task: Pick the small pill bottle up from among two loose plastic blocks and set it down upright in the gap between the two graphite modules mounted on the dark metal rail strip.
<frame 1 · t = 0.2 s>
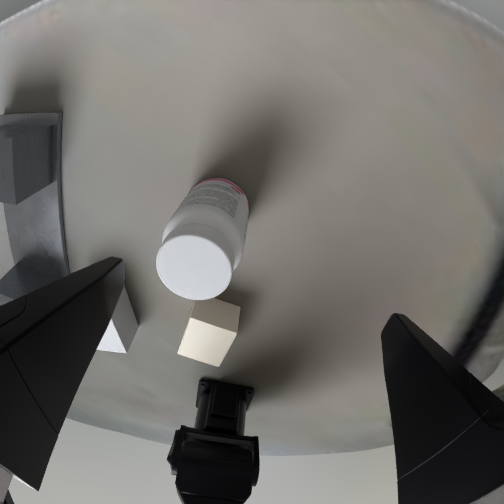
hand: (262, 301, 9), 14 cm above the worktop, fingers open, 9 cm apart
pill bottle: (217, 206, 22), on the worktop
beige terminal block: (211, 317, 28), on the worktop
rail: (34, 225, 24), on the worktop
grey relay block: (114, 302, 28), on the worktop
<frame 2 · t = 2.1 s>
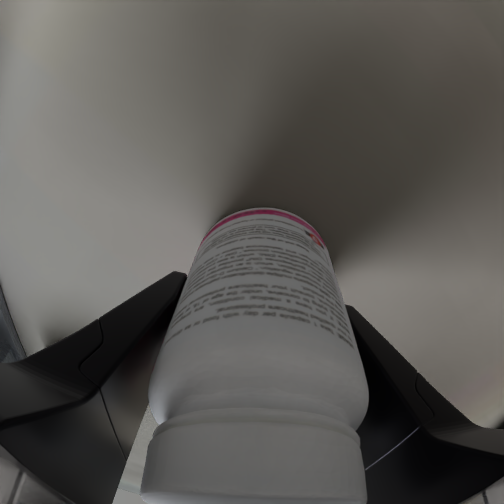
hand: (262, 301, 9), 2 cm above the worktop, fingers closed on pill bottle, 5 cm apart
pill bottle: (262, 263, 11), on the worktop, touching gripper
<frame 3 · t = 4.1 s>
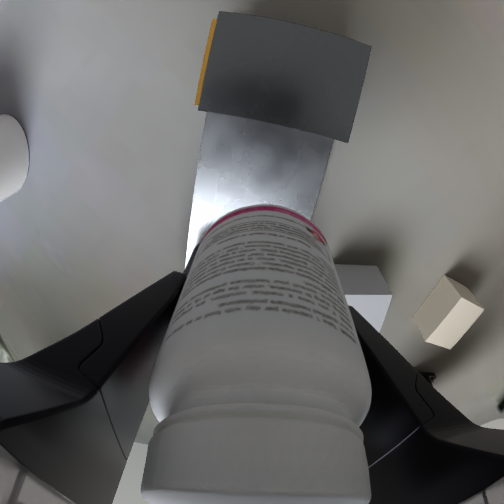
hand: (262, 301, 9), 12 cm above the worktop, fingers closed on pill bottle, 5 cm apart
pill bottle: (263, 260, 11), point 10 cm above the worktop, touching gripper
beige terminal block: (440, 301, 24), on the worktop
rail: (256, 190, 20), on the worktop
pill bottle 2: (4, 154, 19), on the worktop
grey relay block: (345, 295, 24), on the worktop
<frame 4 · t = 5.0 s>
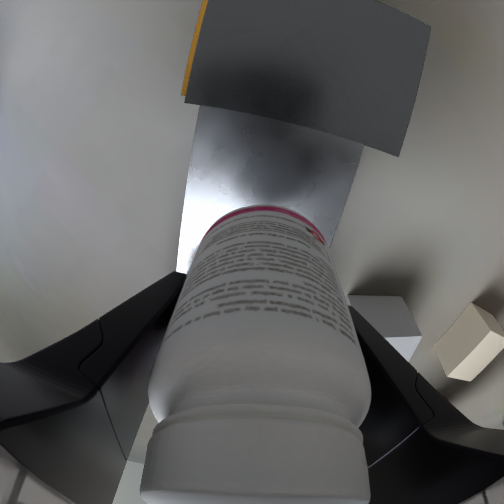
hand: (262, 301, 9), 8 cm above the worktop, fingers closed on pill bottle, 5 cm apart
pill bottle: (263, 260, 11), point 5 cm above the worktop, touching gripper
beige terminal block: (463, 329, 20), on the worktop
rail: (262, 207, 16), on the worktop
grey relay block: (363, 328, 20), on the worktop
when the fingers open (4 cm above the worktop, at t = 6.0 s): pill bottle drops 1 cm, resting on rail.
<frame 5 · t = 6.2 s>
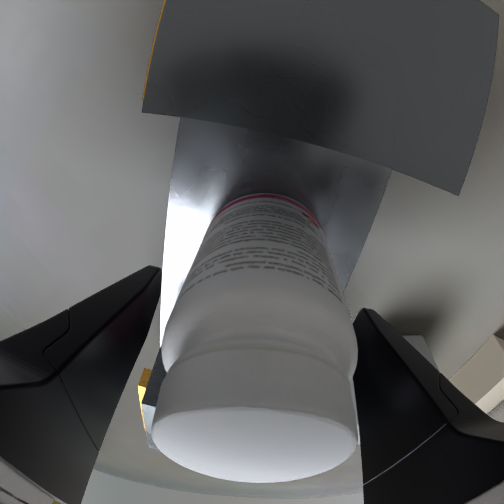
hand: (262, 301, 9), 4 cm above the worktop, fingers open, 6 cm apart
pill bottle: (264, 245, 12), resting on rail
beige terminal block: (481, 361, 17), on the worktop
rail: (263, 241, 13), on the worktop
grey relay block: (376, 367, 17), on the worktop
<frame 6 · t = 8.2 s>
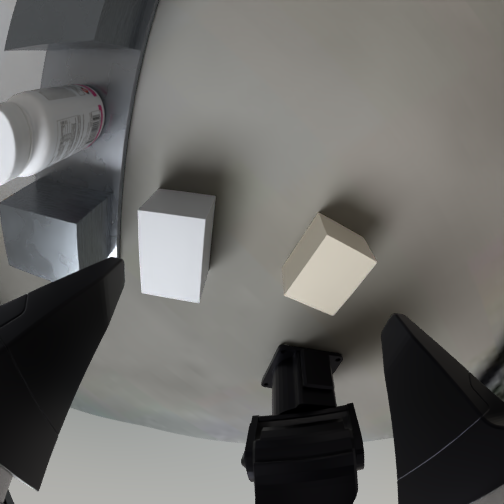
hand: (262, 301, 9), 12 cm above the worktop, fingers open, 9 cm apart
pill bottle: (79, 117, 17), resting on rail
beige terminal block: (322, 251, 22), on the worktop
rail: (81, 117, 17), on the worktop
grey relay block: (184, 230, 21), on the worktop
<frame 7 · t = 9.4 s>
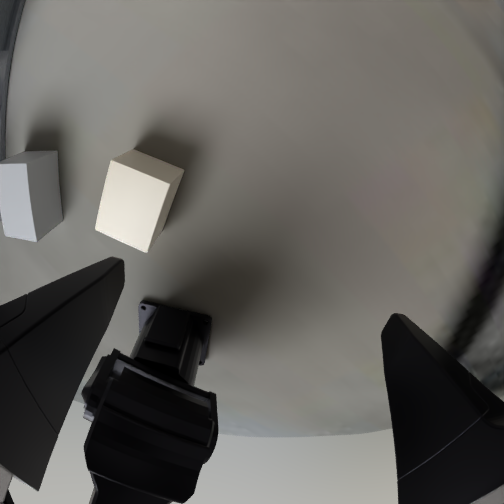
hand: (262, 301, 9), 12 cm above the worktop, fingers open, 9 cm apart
beige terminal block: (148, 190, 20), on the worktop
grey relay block: (43, 185, 20), on the worktop
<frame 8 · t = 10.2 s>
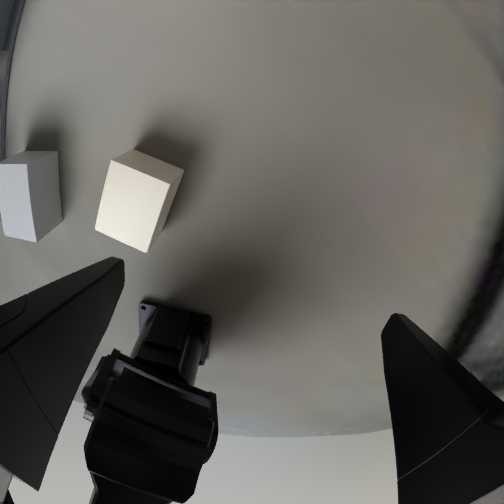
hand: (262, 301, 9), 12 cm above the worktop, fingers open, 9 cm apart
beige terminal block: (148, 190, 20), on the worktop
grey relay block: (43, 185, 20), on the worktop
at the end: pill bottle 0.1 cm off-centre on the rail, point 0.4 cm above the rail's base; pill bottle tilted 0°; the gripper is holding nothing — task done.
